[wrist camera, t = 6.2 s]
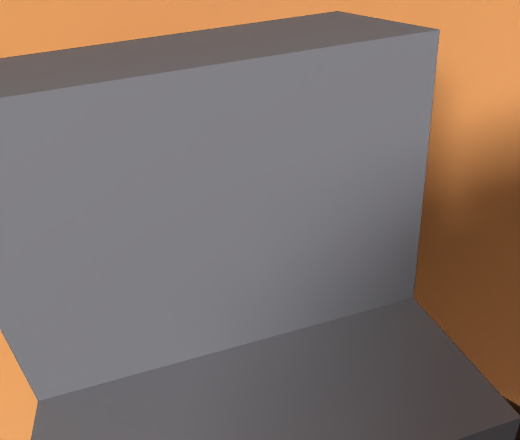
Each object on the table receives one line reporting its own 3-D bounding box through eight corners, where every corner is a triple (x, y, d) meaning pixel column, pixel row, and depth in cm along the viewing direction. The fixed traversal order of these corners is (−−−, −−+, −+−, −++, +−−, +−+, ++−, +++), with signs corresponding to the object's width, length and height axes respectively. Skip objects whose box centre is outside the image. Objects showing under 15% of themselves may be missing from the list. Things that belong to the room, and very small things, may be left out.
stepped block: (337, 11, 7) (630, 63, 3) (340, 393, 11) (459, 618, 7) (-28, 61, 6) (-312, 240, 2) (132, 457, 10) (141, 754, 6)
